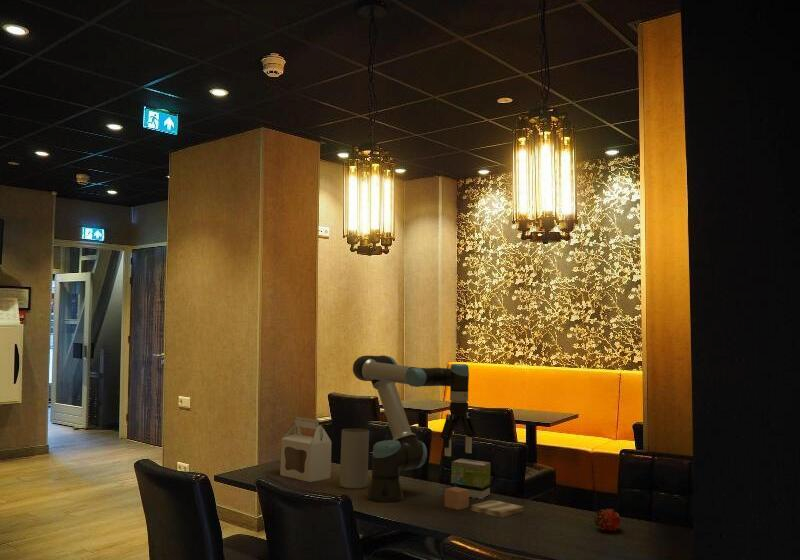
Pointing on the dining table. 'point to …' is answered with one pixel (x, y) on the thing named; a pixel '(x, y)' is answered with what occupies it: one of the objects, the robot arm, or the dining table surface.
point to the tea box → (471, 477)
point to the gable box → (298, 445)
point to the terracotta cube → (456, 498)
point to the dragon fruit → (607, 519)
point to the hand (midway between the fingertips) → (458, 454)
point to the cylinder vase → (354, 458)
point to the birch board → (497, 508)
